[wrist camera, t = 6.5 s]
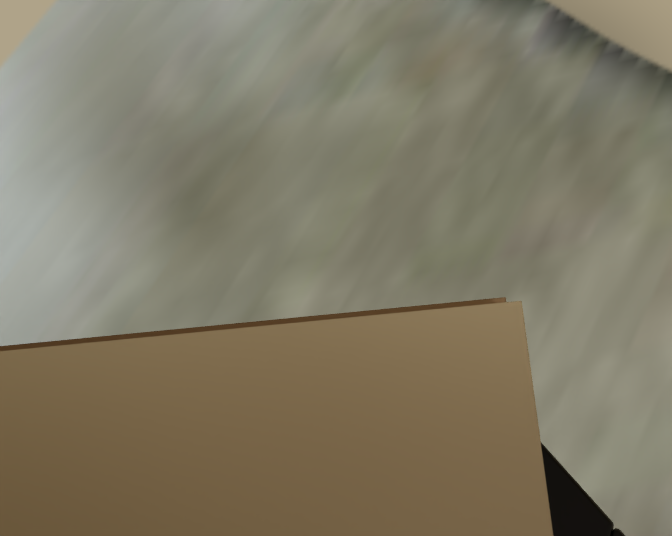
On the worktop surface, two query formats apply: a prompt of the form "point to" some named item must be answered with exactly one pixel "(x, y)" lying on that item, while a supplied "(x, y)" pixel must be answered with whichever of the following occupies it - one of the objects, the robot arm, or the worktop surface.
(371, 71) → the worktop surface
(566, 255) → the worktop surface
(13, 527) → the brown box
